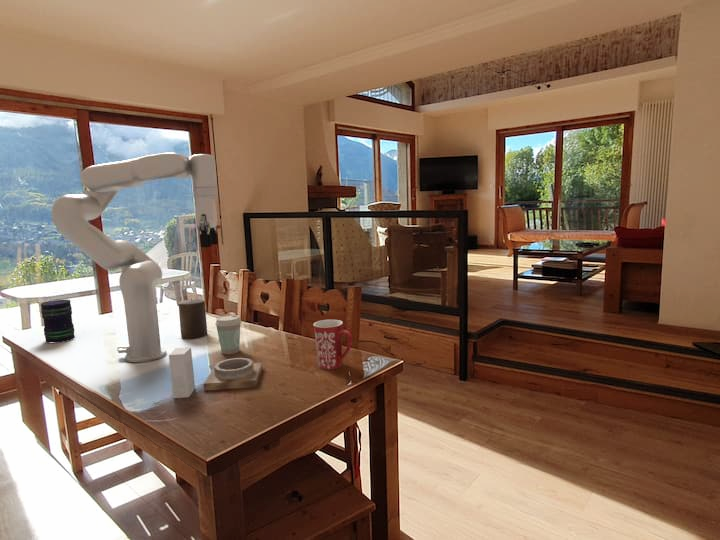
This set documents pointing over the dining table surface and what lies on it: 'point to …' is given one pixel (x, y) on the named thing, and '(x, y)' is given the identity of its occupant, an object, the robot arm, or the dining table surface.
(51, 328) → the storage jar
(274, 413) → the dining table surface
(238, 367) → the ring stand
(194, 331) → the pillar candle
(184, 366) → the skincare box
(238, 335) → the coffee cup
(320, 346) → the mug
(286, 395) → the dining table surface
